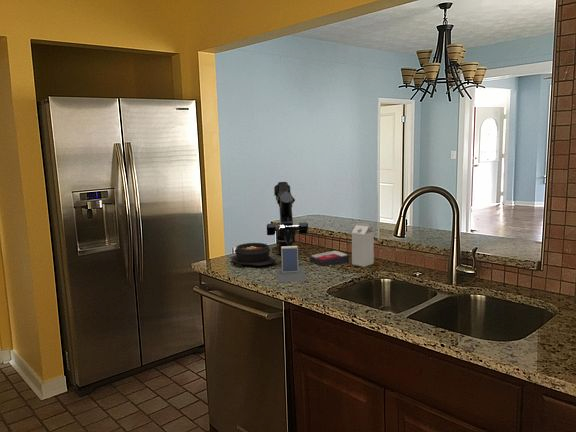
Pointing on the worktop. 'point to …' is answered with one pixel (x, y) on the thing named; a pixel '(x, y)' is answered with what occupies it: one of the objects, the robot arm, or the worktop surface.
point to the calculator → (329, 258)
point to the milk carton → (362, 245)
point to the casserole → (253, 254)
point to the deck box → (289, 258)
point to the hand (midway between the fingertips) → (288, 244)
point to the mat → (291, 276)
